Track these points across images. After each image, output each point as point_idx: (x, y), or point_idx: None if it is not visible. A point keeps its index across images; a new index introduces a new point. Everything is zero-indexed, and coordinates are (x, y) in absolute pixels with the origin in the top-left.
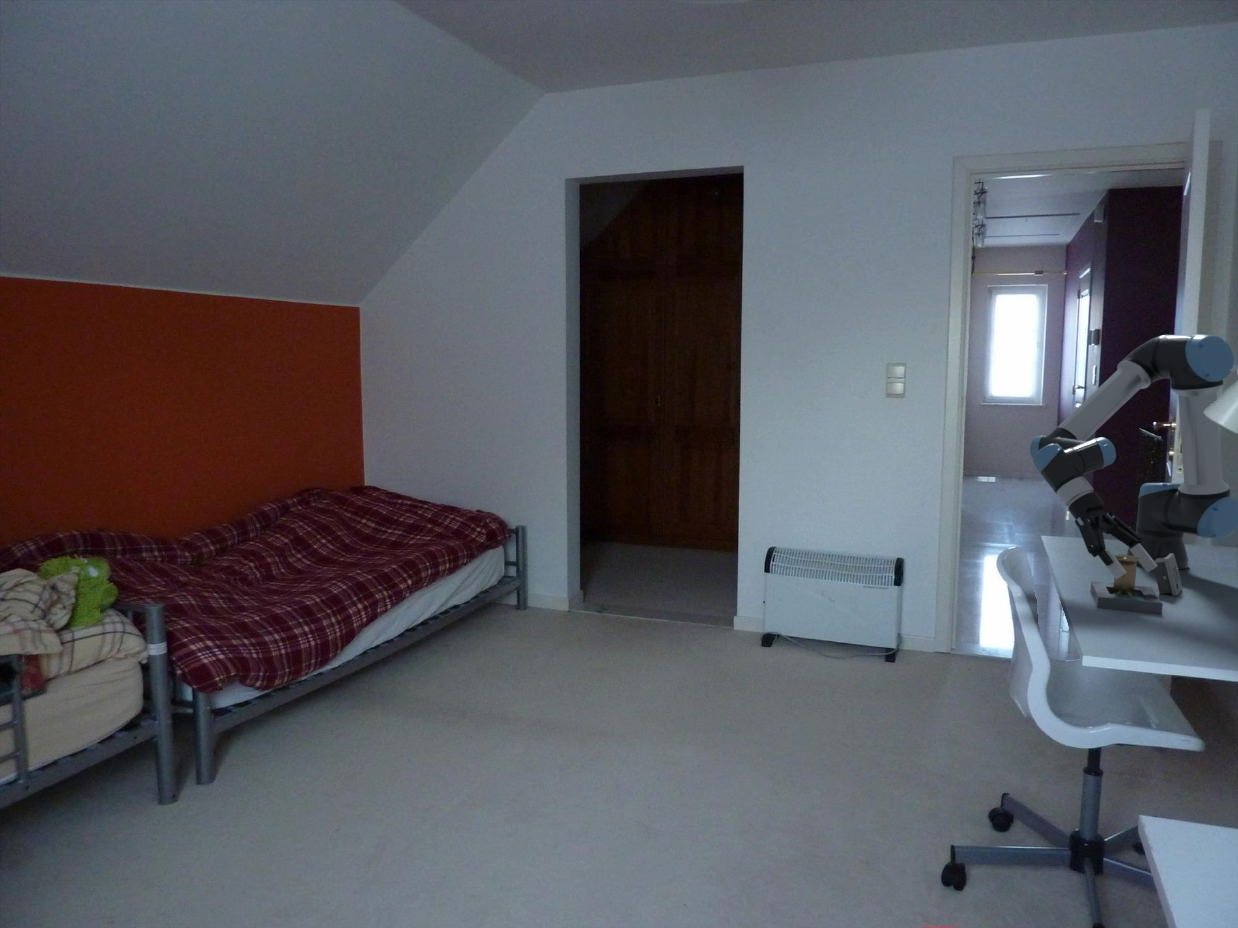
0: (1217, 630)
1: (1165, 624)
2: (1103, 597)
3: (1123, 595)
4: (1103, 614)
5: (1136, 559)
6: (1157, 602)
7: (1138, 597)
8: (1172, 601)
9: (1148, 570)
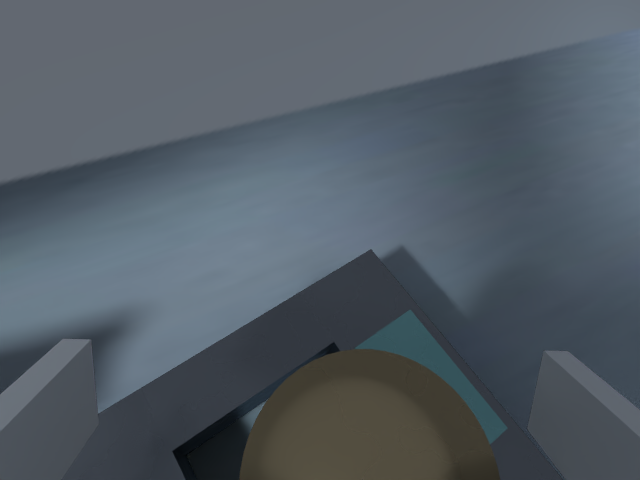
0: (377, 112)
1: (476, 210)
2: (560, 477)
3: None
4: None
5: (382, 354)
6: (371, 270)
7: None
8: None
9: (95, 410)
